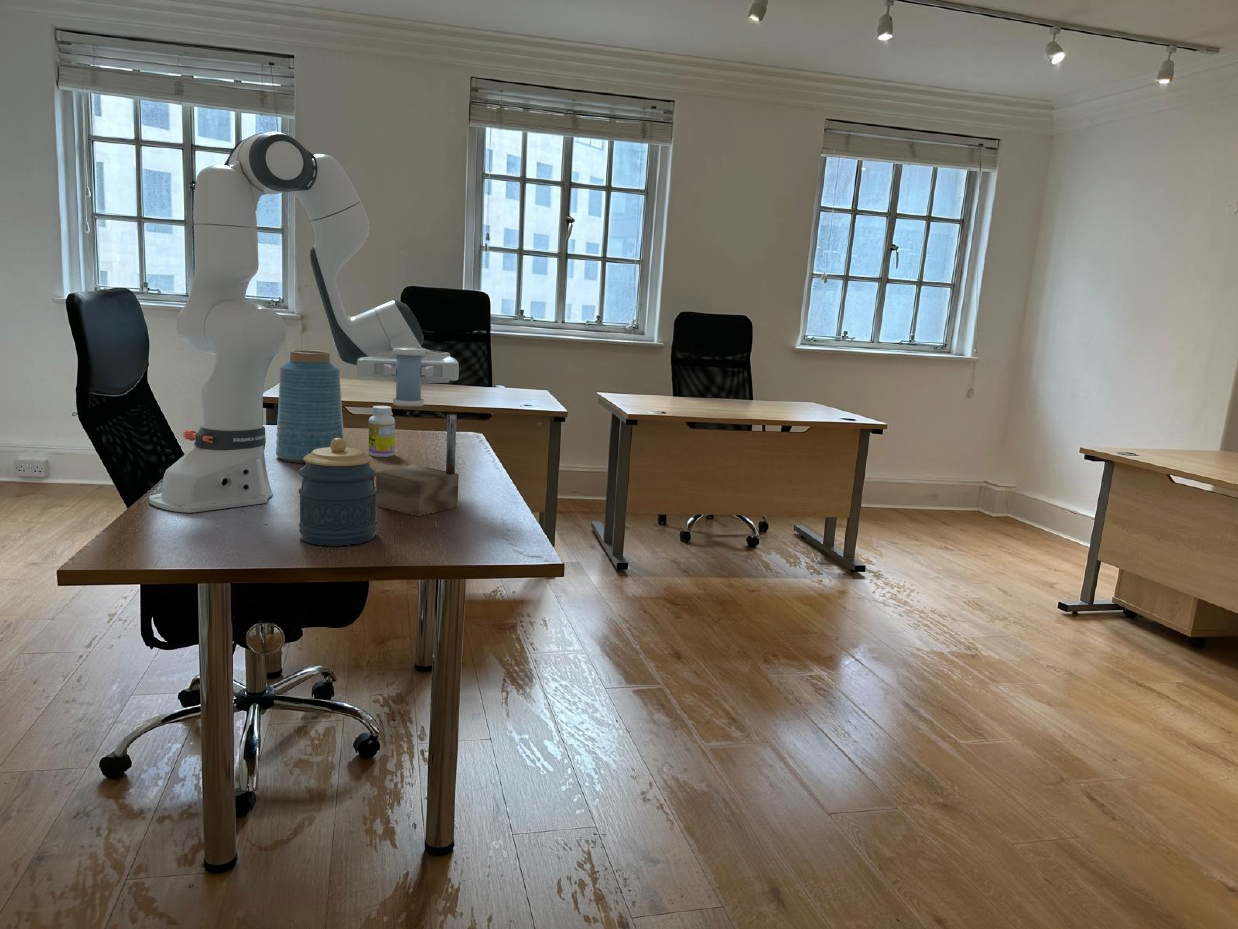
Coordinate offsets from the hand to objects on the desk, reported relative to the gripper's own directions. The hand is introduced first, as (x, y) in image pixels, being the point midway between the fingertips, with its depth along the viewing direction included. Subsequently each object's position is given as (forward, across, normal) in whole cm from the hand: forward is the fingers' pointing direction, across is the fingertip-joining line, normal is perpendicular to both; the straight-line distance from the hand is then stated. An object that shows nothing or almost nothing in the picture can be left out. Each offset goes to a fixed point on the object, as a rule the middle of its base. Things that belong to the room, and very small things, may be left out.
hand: (408, 372), depth 166 cm
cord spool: (-1, 0, +6) cm, 7 cm away
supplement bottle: (-55, -6, +28) cm, 62 cm away
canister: (+22, -12, +27) cm, 37 cm away
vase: (-49, -23, +28) cm, 61 cm away
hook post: (+2, +8, +20) cm, 22 cm away
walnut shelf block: (0, +2, +27) cm, 27 cm away
